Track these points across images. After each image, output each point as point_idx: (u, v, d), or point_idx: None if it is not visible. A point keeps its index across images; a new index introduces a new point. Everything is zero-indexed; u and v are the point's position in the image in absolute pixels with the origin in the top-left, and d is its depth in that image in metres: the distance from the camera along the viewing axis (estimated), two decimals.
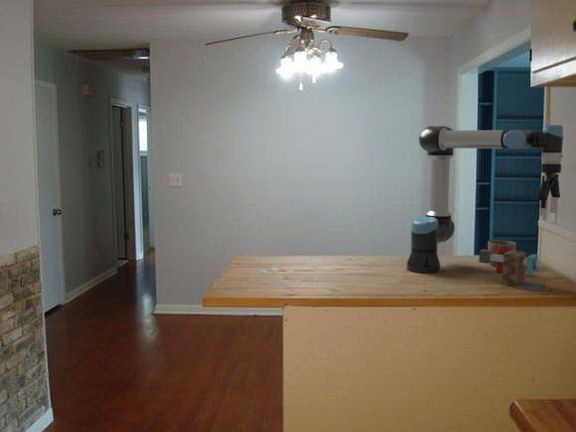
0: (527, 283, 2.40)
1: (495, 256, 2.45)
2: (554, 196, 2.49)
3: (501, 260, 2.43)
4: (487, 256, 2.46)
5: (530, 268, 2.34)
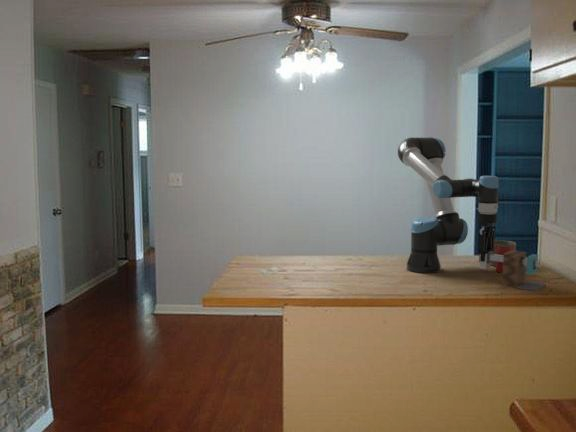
0: (527, 283, 2.40)
1: (495, 256, 2.45)
2: None
3: (501, 260, 2.43)
4: (487, 256, 2.46)
5: (530, 268, 2.34)
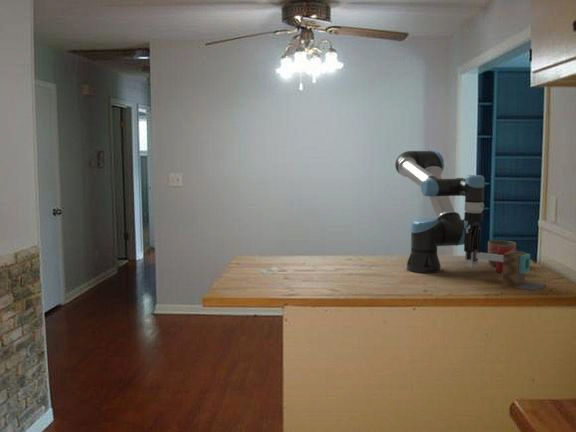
0: (527, 283, 2.40)
1: (481, 254, 2.48)
2: None
3: (487, 258, 2.47)
4: (473, 254, 2.50)
5: (522, 267, 2.35)
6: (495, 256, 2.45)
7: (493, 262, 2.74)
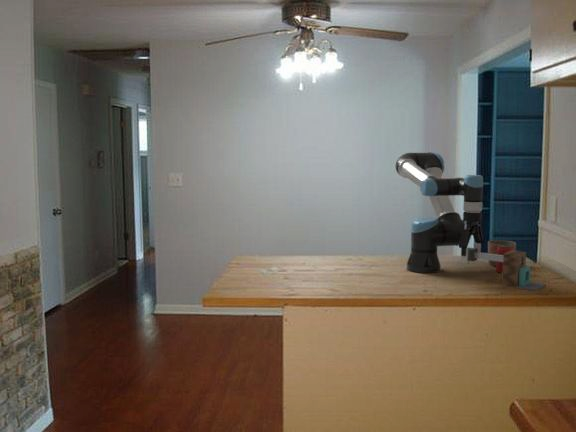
0: None
1: (480, 254, 2.49)
2: (477, 242, 2.57)
3: (486, 258, 2.47)
4: (472, 254, 2.50)
5: (522, 280, 2.36)
6: (494, 256, 2.45)
7: (493, 262, 2.74)
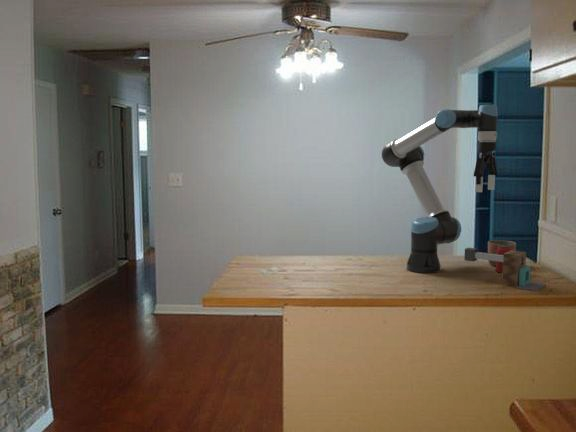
0: None
1: (480, 254, 2.49)
2: (492, 174, 2.59)
3: (486, 258, 2.47)
4: (472, 254, 2.50)
5: (522, 280, 2.36)
6: (494, 256, 2.45)
7: (493, 262, 2.74)
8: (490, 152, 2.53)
